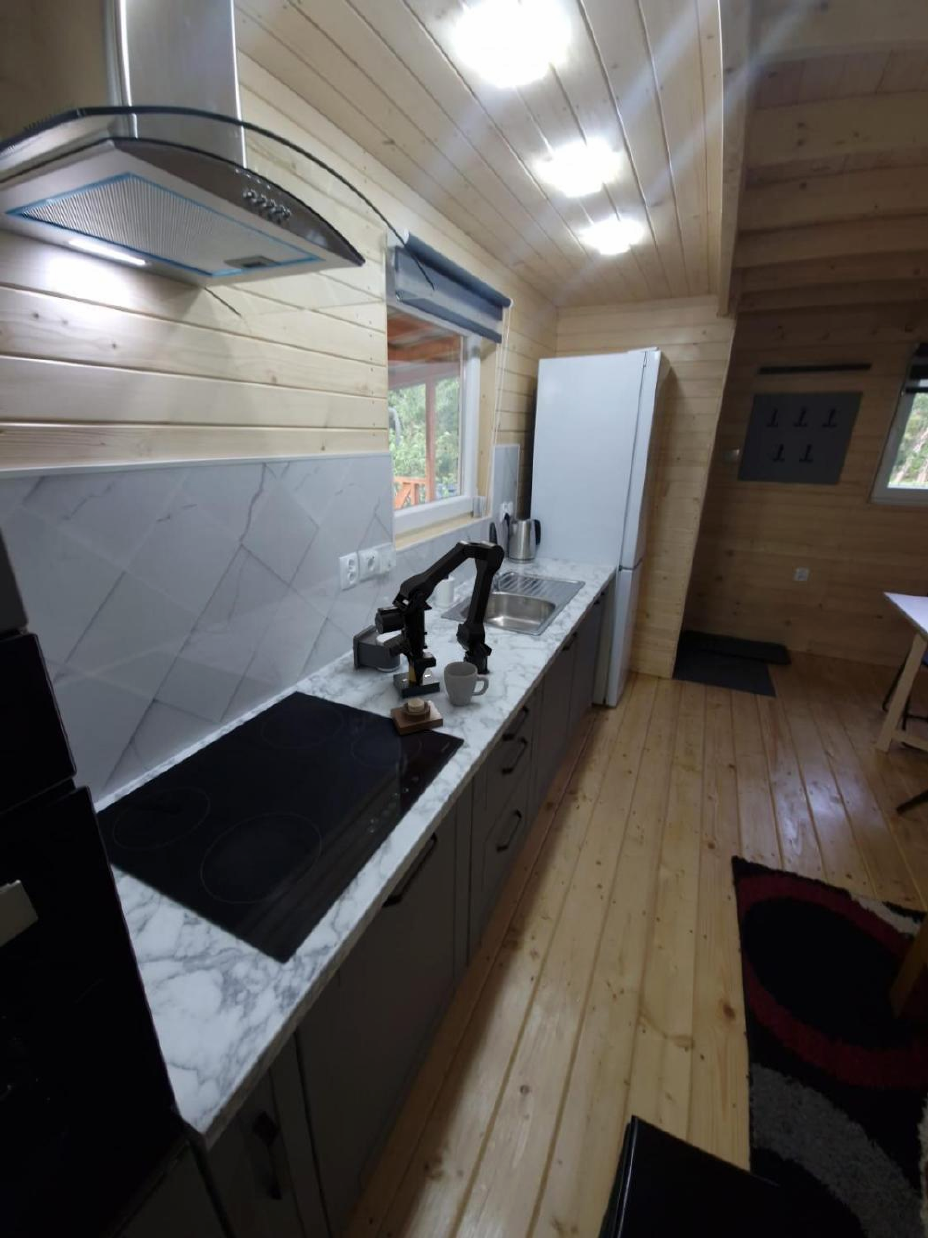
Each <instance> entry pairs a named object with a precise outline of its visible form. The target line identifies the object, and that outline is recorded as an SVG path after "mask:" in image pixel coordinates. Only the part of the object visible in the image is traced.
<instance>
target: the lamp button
mask: <svg viewBox="0 0 928 1238" xmlns="http://www.w3.org/2000/svg"><path fill="white" fill-rule="evenodd" d="M408 701H409V702H408ZM408 701H407V702H408V710H409V711H411V712H421V711H423V710H424V701H425V700H423V699H422V698H418V697H417V698H412V699H409V700H408Z"/></svg>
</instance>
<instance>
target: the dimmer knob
mask: <svg viewBox="0 0 928 1238" xmlns="http://www.w3.org/2000/svg"><path fill="white" fill-rule="evenodd" d="M407 668H408V672H409V680H411V681H415V682H416V678H415V673H414V669H413V667H412V666H410V664H408V665H407ZM422 679H423V676H422V678H421V680H422ZM421 680H420V681H421Z"/></svg>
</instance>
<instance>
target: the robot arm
mask: <svg viewBox="0 0 928 1238" xmlns="http://www.w3.org/2000/svg"><path fill="white" fill-rule="evenodd" d="M505 555H506V551H505V549H504V548H503V547H502V545H499V544H497V543H494V542H491V541H488V540H482V541H480V542H476V541H475V542H474V541H465V540H459V541H458V542H456V544H455V546H454V547H452V548H450V550H449V551H448V552H446V553H445V554H443V556H441V557H440V558H439V559H438V560H436V561H435V562H434V563H433V564H432V565H431V566H429V567H428V568H427V569H425V571H423V572H420V573H417V574H415V575H412V576H410V577H409V578H406V579H405V580H403V582H402V583H401V584H400V585H399V590H398V592H397V594H396V596H395V597H394V599H393V600H392V602H391V605H393V606H387V607H378V608H377V612H376V614H375V617H374V626H376V629H377V632H378V633H379V634H391V633H394V632H398V631H399V632H400V633H398V634H397V635H396V636H394V637H392V638H390V639H388V640H386V641H385V642H383V645H384V647H385V649H386V651H387V653H388V655H389V657H390V658H393V657H395V656H398V655H400V656H401V655H403V656H404V657H406V660H407V664H408V665H409V664H410V666H412V667H413V669H414V673H415V678H416V681H420V680H421V678H422V676H423V674H424V672H425V670H426V669H427V668H429V669H431V668H432V669H433V668H436V667H437V659H436V657H435V656H434V654H433V653H431V652H430V651H424V650H428V648H429V647H428V644H427V643H426V636H428V631H427V629H426V612H427V611H431V610H433V606H431V605H430V604H429V603H428V602H427V601H428V600H429V598H430V597H431V596H432V595H433V593H434V591H435V589H436V587H437V586H438V585H439V584H440V583H441V582H442V581H444V579H446V578H447V577H448V576H449V575H450V574H452V573H453V572H454V571H455V570H456V569H458V568H459V567H460V566H461V565H463V564H464V563H465V562H466V561H467V560H468V559H474V564H475V565H474V566H475V568H476V574H475V579H474V584H473V588H472V594H471V598H470V602H469V607H468V612H467V617H466V619H465V621H464V622H463V623H458V625H457V631H456V633H455V637H457V638H456V641H457V643H458V644H459V645H460V646H461V648H462V649H463V650H465V651H464V656H463V658H462V662H468V663H471V664H473V665H475V666H476V668H477V674H478V675H487V674H490V672H491V671H490V670H489V669H488V662H489V661H488V659H489V657H490V656H491V655H492V651H493V648H492V647H490V646H489V645H488V644H487V643H486V635H487V633H486V629H485V625H484V621H485V616H486V614H487V613H486V611H487V608H488V603H489V600H490V595H491V591H492V590H491V589H492V585H493V582H494V577H495V575H496V574H497V573H498V572H499V570H500V569H501V567H502V565H503V562H504V559H505ZM404 601H406V602H407V603H405V602H404Z"/></svg>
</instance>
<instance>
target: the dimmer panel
mask: <svg viewBox="0 0 928 1238" xmlns="http://www.w3.org/2000/svg"><path fill="white" fill-rule="evenodd" d="M392 684H393V686H394V687H395V689H396V691H397V693H398V694H399V696H400V698H401V699H402V700H404V699H408V698H413V697H419V696H423V695H428V694H432V693H433V694H434V693H438V692H440V690H441V689H440V687H441V686H440V685H441V682H440V681H439V679H438V677H436V674H434V672H433V671H432V670H431V668H427V669H426V670H425V672H424V674H423V679H422V680H421V681H416V682H415V681H411V680H409V671H406V672H400V673H395V674H394V673H393V674H392Z"/></svg>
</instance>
